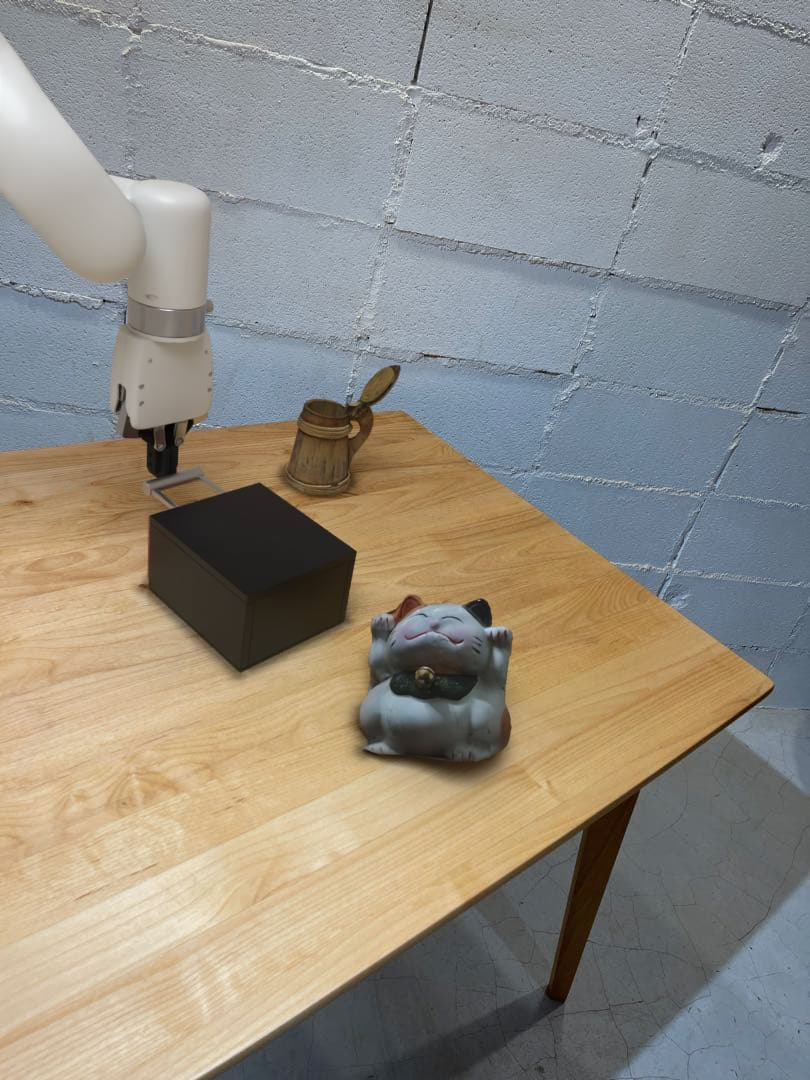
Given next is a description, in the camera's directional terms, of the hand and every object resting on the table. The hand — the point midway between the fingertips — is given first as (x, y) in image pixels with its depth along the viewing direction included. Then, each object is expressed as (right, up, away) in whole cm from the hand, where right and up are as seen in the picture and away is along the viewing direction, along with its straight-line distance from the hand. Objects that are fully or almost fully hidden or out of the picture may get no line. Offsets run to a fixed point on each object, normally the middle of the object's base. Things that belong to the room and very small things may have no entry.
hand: (162, 475), depth 91 cm
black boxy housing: (+10, -15, -4) cm, 18 cm away
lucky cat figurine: (+29, -25, -14) cm, 40 cm away
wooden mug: (+17, +1, +22) cm, 28 cm away
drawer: (+7, -12, -2) cm, 14 cm away
